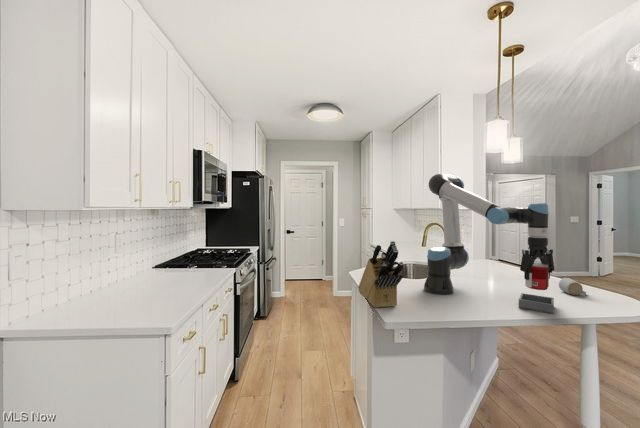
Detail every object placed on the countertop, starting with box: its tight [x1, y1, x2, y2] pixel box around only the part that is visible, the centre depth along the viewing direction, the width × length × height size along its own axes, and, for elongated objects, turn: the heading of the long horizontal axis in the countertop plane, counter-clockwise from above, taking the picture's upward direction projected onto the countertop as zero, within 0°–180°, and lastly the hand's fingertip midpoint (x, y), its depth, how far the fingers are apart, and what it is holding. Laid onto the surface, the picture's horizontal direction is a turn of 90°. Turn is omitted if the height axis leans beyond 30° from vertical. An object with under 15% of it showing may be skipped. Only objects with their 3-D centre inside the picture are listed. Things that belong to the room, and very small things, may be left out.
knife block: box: [357, 240, 404, 308], centre depth 148 cm, size 11×35×31 cm, turn 9°
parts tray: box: [518, 292, 555, 315], centre depth 141 cm, size 13×13×4 cm
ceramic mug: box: [558, 277, 587, 296], centre depth 163 cm, size 11×8×8 cm
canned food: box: [527, 262, 549, 291], centre depth 141 cm, size 8×8×11 cm
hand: (537, 286), depth 141 cm, fingers closed on canned food, 8 cm apart
